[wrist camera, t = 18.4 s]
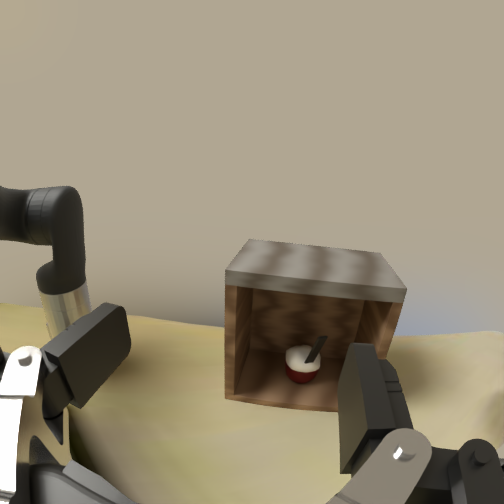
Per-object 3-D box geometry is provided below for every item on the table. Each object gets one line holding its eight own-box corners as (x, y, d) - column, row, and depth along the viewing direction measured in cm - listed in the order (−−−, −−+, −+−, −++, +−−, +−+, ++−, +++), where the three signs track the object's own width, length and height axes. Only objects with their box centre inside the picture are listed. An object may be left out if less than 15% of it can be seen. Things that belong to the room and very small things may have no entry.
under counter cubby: (224, 398, 42) (225, 269, 35) (243, 347, 56) (248, 239, 49) (362, 412, 38) (407, 288, 31) (353, 359, 52) (380, 253, 45)
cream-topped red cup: (285, 362, 51) (290, 306, 48) (317, 364, 50) (326, 309, 47) (280, 394, 42) (286, 335, 39) (318, 397, 41) (330, 337, 38)
